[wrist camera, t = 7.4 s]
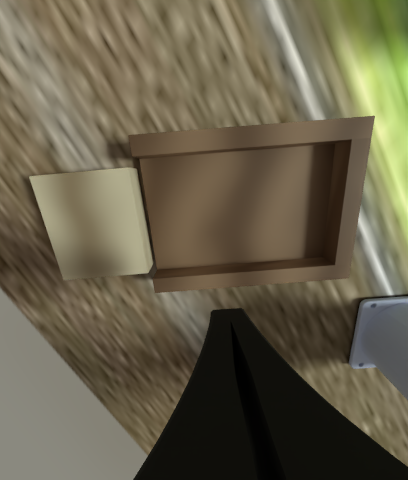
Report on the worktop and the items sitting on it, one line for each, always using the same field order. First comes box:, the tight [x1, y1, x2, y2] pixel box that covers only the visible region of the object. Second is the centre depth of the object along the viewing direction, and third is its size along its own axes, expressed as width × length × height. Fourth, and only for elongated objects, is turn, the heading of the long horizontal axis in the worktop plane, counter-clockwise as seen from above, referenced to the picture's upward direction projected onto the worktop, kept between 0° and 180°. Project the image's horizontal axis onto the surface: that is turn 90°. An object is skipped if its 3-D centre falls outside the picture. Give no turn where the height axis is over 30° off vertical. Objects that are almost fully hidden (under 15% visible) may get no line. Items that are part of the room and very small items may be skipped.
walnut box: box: [128, 116, 375, 293], centre depth 15 cm, size 15×11×2 cm
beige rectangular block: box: [29, 168, 154, 280], centre depth 15 cm, size 6×8×2 cm
